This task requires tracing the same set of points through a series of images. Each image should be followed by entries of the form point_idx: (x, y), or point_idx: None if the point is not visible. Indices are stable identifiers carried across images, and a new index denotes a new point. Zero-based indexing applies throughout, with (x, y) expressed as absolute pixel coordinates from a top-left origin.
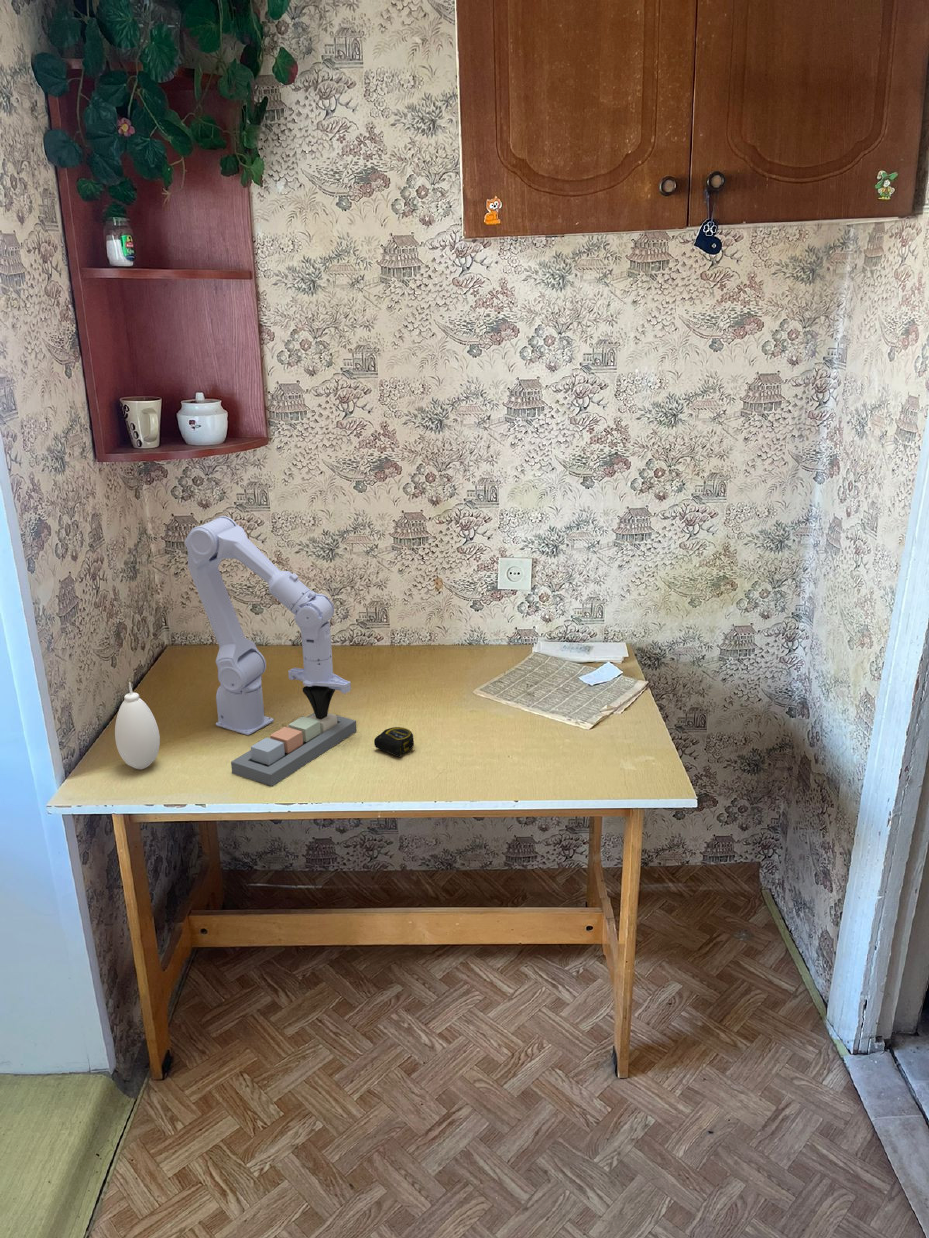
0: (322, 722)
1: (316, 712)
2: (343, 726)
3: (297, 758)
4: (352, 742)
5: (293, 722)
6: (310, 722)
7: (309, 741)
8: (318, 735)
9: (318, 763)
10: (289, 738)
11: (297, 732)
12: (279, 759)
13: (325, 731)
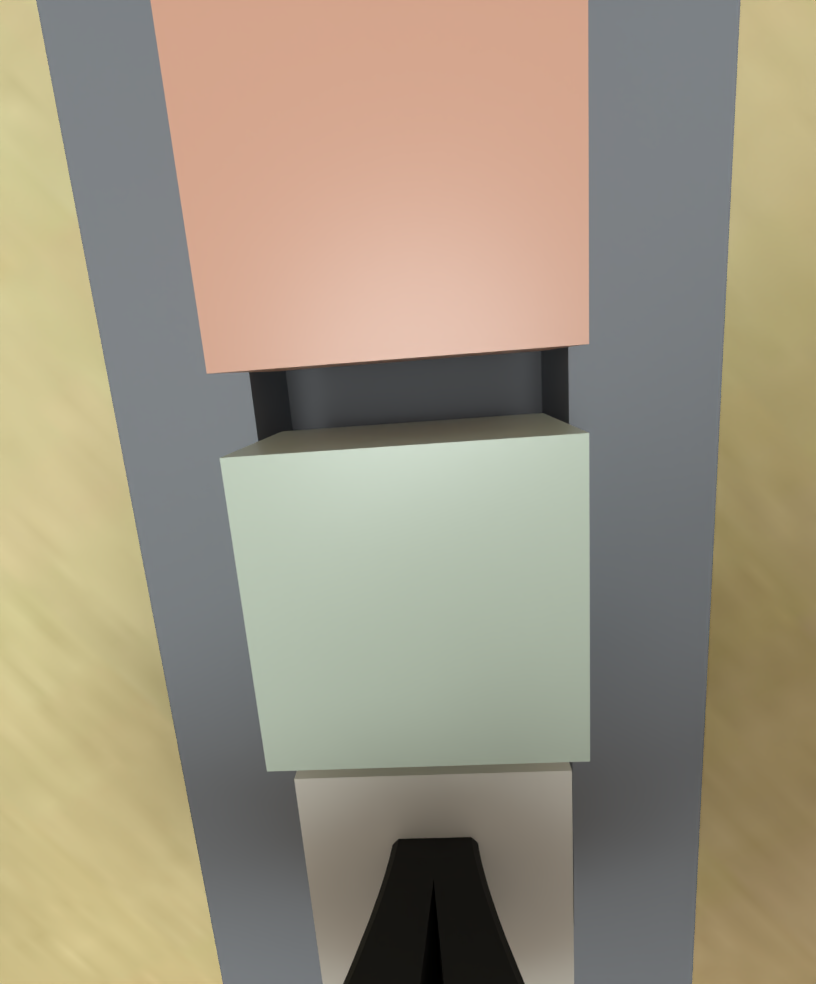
0: (326, 795)
1: (441, 913)
2: (231, 873)
3: (52, 49)
4: (153, 757)
5: (567, 536)
6: (340, 671)
7: None
8: None
9: (84, 330)
10: (177, 29)
11: (241, 300)
12: None
13: None
